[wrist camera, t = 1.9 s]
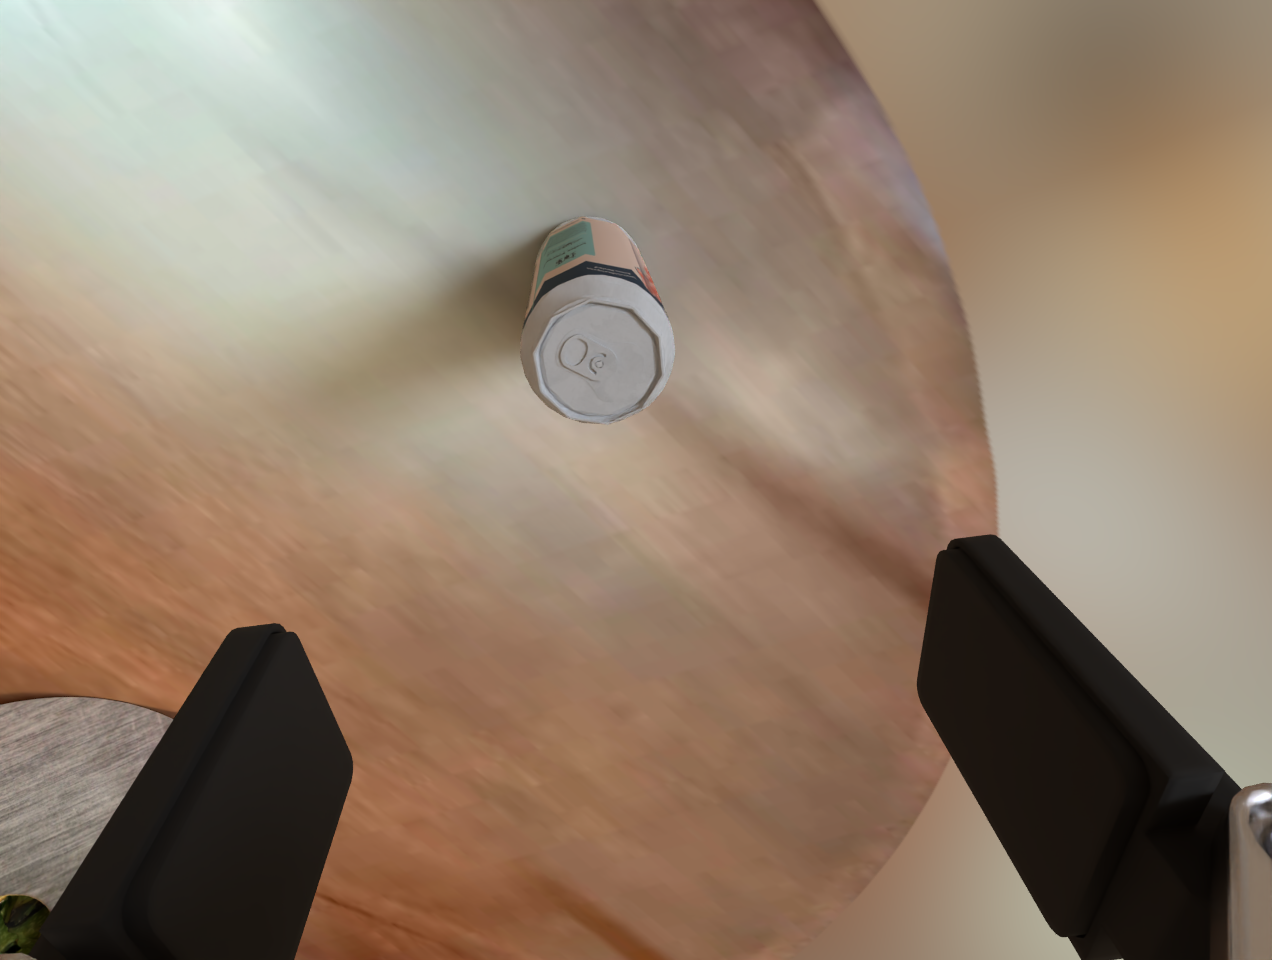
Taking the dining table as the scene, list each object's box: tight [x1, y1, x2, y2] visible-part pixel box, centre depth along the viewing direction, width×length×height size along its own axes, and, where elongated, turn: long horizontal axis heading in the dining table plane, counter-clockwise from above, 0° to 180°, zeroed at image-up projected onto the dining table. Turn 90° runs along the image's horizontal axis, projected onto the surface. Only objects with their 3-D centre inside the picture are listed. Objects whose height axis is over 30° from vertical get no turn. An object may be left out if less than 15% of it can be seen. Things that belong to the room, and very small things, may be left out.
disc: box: [0, 697, 173, 955], centre depth 40 cm, size 25×18×25 cm
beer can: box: [520, 217, 675, 425], centre depth 25 cm, size 5×5×12 cm
